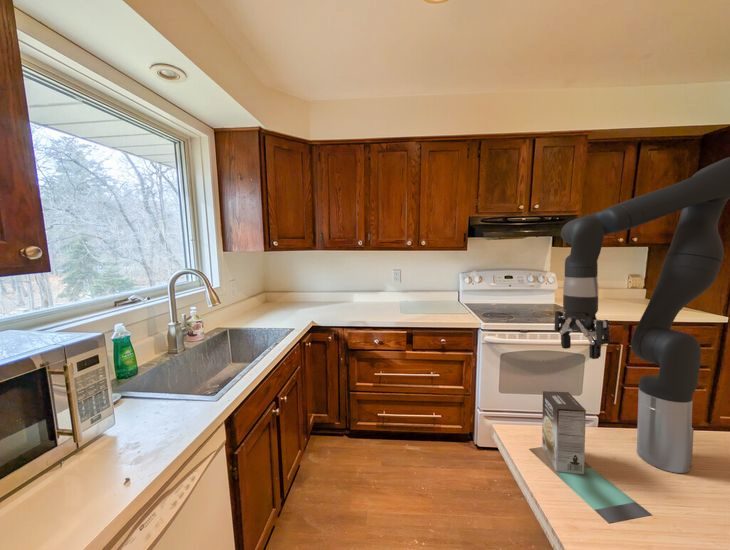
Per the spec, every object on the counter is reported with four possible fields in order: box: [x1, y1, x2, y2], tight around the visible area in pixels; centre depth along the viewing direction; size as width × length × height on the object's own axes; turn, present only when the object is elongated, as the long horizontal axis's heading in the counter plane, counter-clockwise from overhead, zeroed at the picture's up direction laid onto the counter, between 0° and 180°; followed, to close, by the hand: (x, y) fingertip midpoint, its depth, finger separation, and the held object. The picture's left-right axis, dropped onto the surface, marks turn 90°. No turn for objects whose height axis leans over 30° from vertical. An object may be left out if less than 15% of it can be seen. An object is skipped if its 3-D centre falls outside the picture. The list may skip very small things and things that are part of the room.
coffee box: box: [541, 390, 587, 474], centre depth 73 cm, size 9×6×16 cm
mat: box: [528, 446, 653, 524], centre depth 68 cm, size 10×22×1 cm, turn 9°
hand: (579, 352), depth 78 cm, fingers open, 8 cm apart
